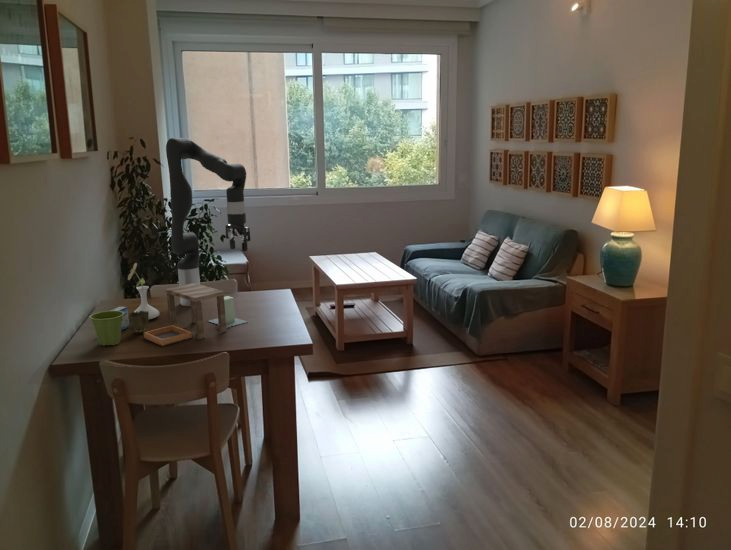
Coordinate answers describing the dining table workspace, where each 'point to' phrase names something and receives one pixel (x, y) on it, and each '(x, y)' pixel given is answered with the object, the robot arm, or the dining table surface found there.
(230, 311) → the sage block
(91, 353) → the dining table surface
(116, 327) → the plant pot
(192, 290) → the walnut table
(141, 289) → the flower in vase
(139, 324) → the cup
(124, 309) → the medicine box
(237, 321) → the slate mat
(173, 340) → the shallow orange tray
